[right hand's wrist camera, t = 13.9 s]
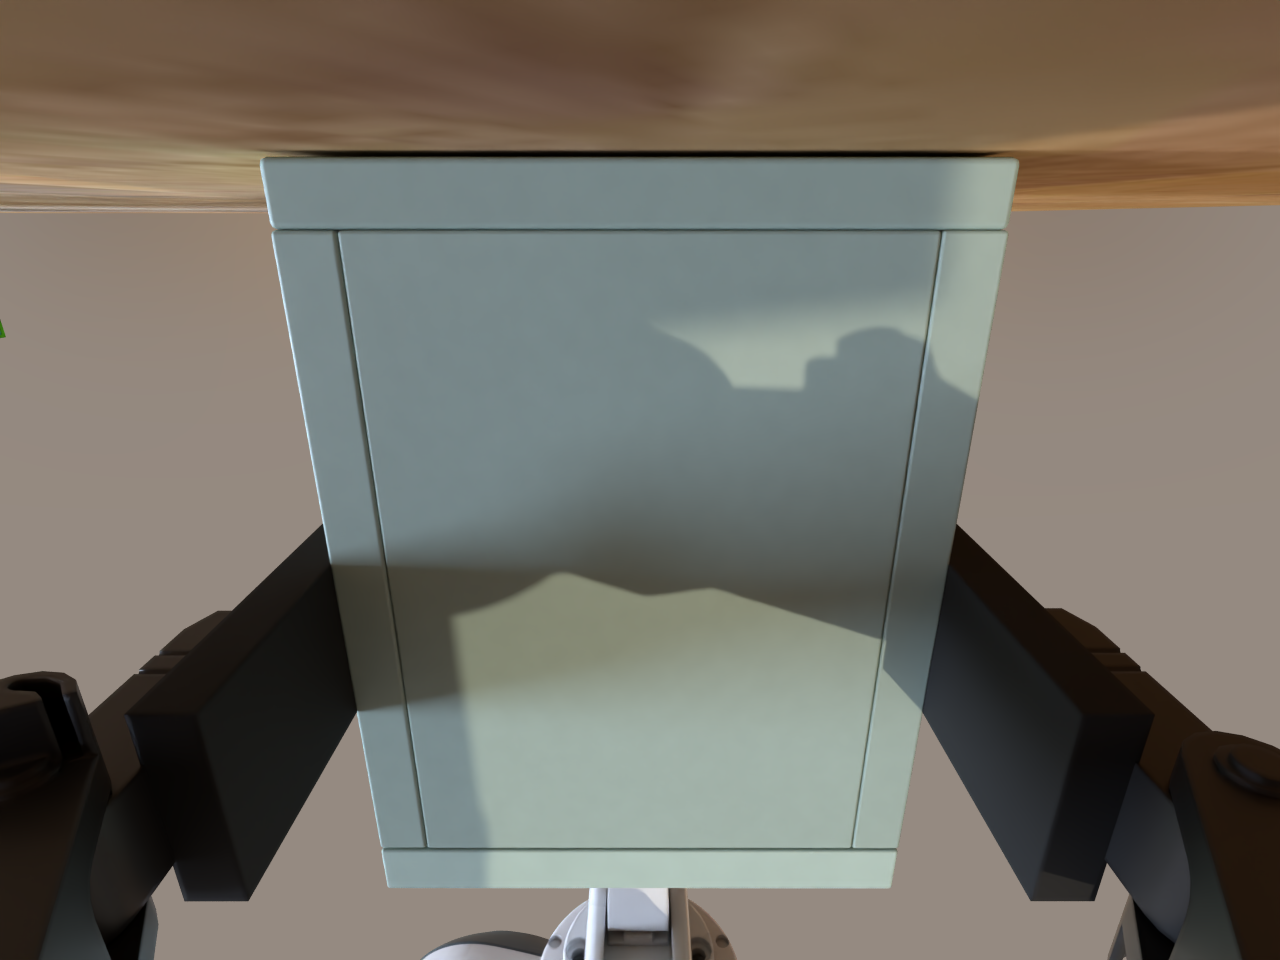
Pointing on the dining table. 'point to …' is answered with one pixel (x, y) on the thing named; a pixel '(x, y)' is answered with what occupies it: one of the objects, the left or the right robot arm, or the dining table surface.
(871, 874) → the lid
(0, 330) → the toy car
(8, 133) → the dining table surface
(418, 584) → the chest
